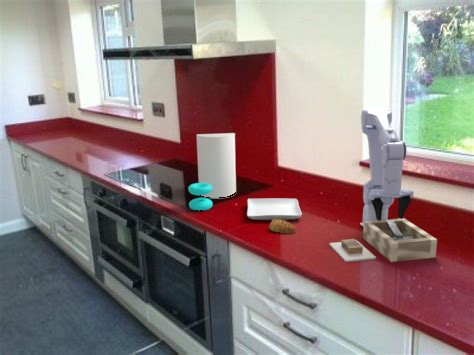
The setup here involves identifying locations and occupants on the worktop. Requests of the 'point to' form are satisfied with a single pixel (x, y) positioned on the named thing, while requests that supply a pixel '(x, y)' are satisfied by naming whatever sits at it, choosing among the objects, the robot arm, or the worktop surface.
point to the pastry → (282, 226)
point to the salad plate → (273, 209)
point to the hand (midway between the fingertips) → (389, 218)
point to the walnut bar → (351, 246)
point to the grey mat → (352, 257)
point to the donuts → (200, 202)
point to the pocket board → (401, 249)
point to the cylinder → (217, 163)
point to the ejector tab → (397, 232)
